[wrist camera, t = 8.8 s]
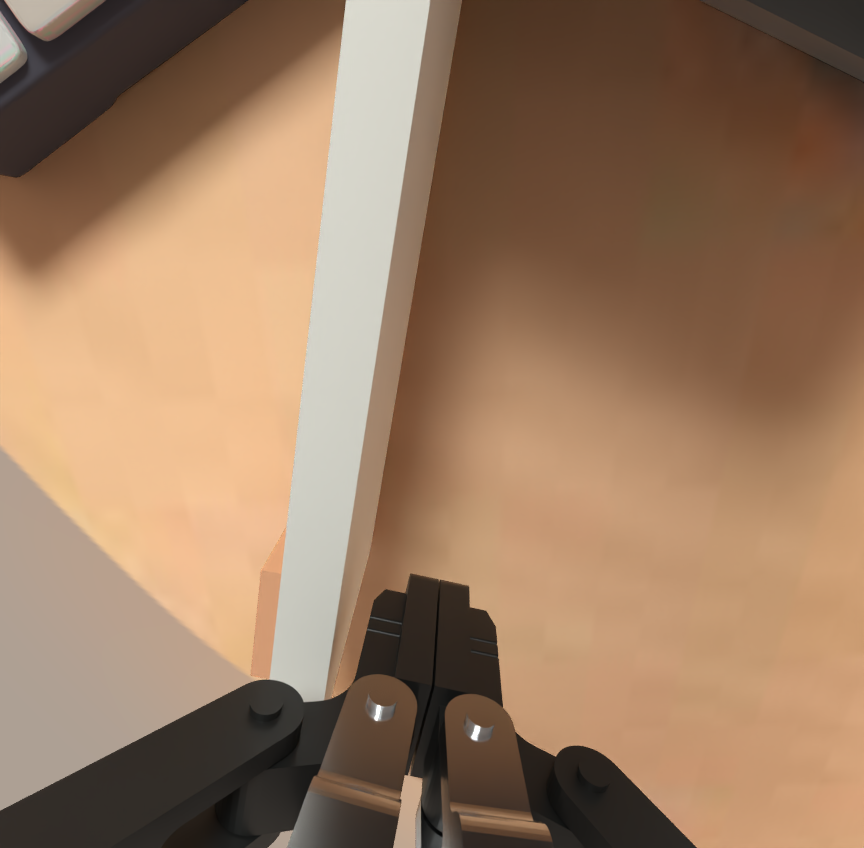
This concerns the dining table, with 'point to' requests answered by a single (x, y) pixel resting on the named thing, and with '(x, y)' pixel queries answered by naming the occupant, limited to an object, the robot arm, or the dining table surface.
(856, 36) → the grey boxy piece
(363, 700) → the robot arm
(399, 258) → the side door
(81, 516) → the dining table surface
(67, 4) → the calculator
